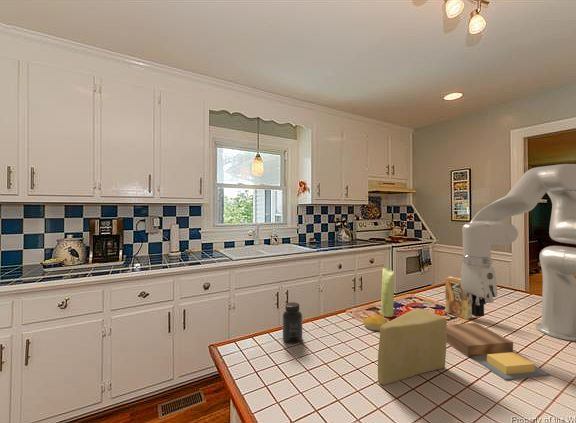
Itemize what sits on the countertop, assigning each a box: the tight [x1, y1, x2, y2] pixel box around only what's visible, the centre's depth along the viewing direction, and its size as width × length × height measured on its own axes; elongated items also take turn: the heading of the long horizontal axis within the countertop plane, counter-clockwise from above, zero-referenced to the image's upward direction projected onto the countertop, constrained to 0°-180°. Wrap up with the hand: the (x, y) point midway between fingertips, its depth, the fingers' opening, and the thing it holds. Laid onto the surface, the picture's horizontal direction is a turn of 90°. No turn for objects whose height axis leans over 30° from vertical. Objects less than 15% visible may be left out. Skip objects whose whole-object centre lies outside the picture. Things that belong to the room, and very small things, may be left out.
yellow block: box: [487, 351, 536, 374], centre depth 77 cm, size 9×6×2 cm, turn 98°
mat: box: [471, 355, 550, 381], centre depth 78 cm, size 14×11×1 cm
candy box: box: [445, 276, 473, 320], centre depth 114 cm, size 9×4×15 cm, turn 33°
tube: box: [380, 267, 395, 318], centre depth 113 cm, size 6×5×20 cm
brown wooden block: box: [446, 322, 514, 358], centre depth 90 cm, size 16×14×4 cm
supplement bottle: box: [282, 301, 303, 344], centre depth 93 cm, size 7×7×12 cm
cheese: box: [377, 307, 448, 386], centre depth 75 cm, size 22×10×15 cm, turn 120°
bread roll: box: [362, 314, 389, 332], centre depth 103 cm, size 8×9×4 cm
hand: (477, 315), depth 89 cm, fingers closed
